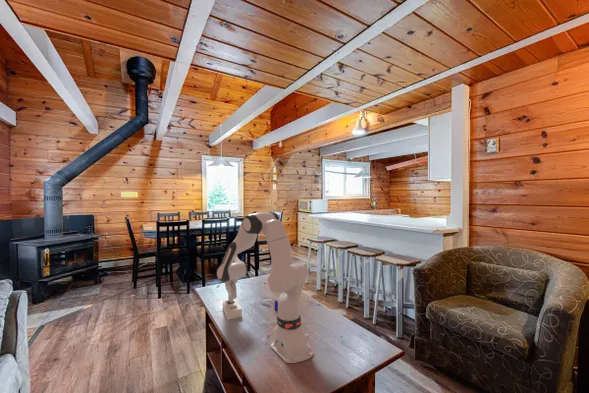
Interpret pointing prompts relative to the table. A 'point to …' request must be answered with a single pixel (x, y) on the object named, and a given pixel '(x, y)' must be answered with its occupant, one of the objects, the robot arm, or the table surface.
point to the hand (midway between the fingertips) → (230, 300)
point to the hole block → (232, 309)
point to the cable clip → (276, 305)
